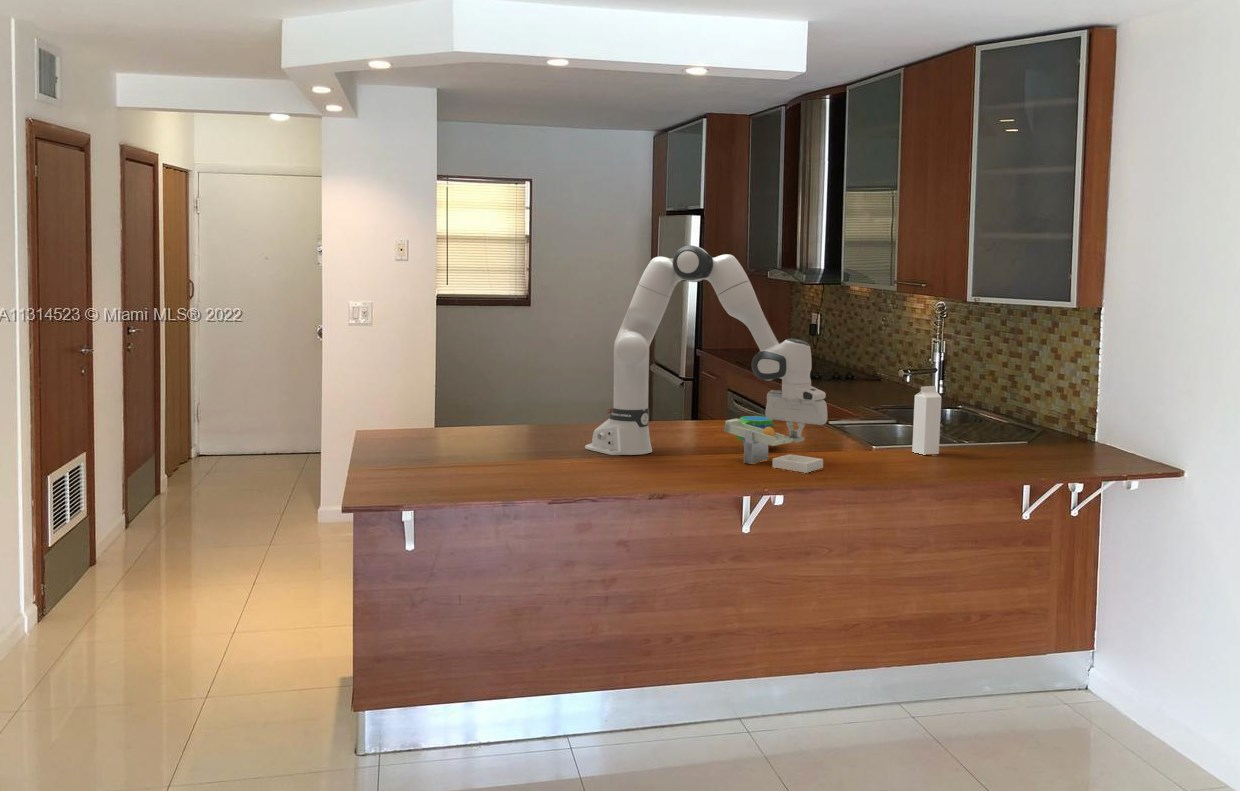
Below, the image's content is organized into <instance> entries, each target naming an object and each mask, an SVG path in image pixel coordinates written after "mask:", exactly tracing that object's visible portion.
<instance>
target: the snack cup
mask: <svg viewBox="0 0 1240 791" xmlns="http://www.w3.org/2000/svg"><path fill="white" fill-rule="evenodd" d="M739 419H740V420H742V421H741V423H744V424H747V425H751V426H754V427H758V428H762V429H765V428H766V427H772V428H773V429H774V430H775V427H774V420H772V419H767V417H766V416H760V415H746V416H741V417H739ZM736 439H737V440H738V441H741V442H742V443H743V445H744V442H745V438H744V437H741V436H738V435H736Z"/></svg>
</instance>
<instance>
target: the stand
mask: <svg viewBox="0 0 1240 791" xmlns="http://www.w3.org/2000/svg"><path fill="white" fill-rule="evenodd" d="M767 459H768V460H769V445H768V444H765V443H761V442H758V441H755V440H754V433H752V432H745V442H744V444H743V464H744V463H750V464H753V463H756V462H760V461H763V460H767Z"/></svg>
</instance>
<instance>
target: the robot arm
mask: <svg viewBox="0 0 1240 791" xmlns="http://www.w3.org/2000/svg"><path fill="white" fill-rule="evenodd" d="M704 280H705V281H708V282H709V283H710V284H711V286H712V288H713V290H714V292H715V294H716V296H717V298H718V301H719V303H720V304H721V306H722V308H723V309H724V310H725V312H726V313H727V315H729V316H730V317H733V318H734V319H737V320H738V321H740V322H742V324H744V325H745V326H746V327H747V328H748V331H750V333H751V336H752V338H753V339H754V341H755V343H756V345H757V347H758V349H759V352H757V353H755V355H754V356H753V358H752V360H751V366H750V367H751V371H752V372H753V374H754V375H755V377H757V379H759V380H763V381H772V380H775V379H781V390H779V389H778V390H777V389H771V390H769V391H768V392H767V394H766V406H765V412H764V413H765V416H764V417H767V419H772V420H773V421H783V422H786V424H785V425H786V427H787V429H788V431H789V432H788V433H789V434H788V436H789V435H790V436H795V437H802V431H803V429H804V427H805V426H806V424H807V425H808V424H809V425H818V426H823V425H825V424H826V423H827V422H828V405H827V402H826V401H825V400H824V399H826V395H827V394H826V392H825V391H823V390H821V389H818V388H816V387H815V386H812V379H811V371H812V363H813V362H812V352H811V351H812V350H811V346H810V344H809V343H808V342H807V341H805V340H802V339H797V338H787V339H785V340H784V341H782V342H780V341H779V340H778V339H777V337H776V334H775V333H774V331H773V328H772V326H771V324H770V323H769V321H768V319H767V317H766V315H765V314H764V311H763V310H762V308H761V304H760V302H759V299H758V297H757V295H756V292H755V290H754V288H753V285H752V283H751V281H750V279H749V277H748V275H747V273H746V271H745V270H744V268H743V266H742V265H741V263H740V262H739V260H738V259H737V257H735V256H734V255H732V254H730V253H729V254H727V253H726V254H721V255H717V256H715V257H712V255H710V254H709V252H707V251H706V250H705V249H704V248H702V247H700V246H697V245H685V246H682V247H680V248H679V249H678V250H677V251H676V252H675V253H674V255H673V258H669V257H666V256H656V257H653V258H652V259H651V260H650V261H649V263H648V265H647V266H646V267H645V269H644V271H643V273H642V276H641V277H640V279H639V282H638V284H637V286H636V289H635V290H634V291H635V292H634V293H633V296H632V299H631V301H630V304H629V307H628V309H627V311H626V313H625V315H624V318H623V321H622V323H621V325H620V328H619V330H618V333H617V335H616V337H615V339H614V342H613V343H614V345H613V407H612V408H609V409H606V411H607V412H606V414H609V416H608V419H607V420H604V422H603V423H601V424H600V425H599V426H598V427H597V428H595V429H594V431H593V434H592V439H591V440H592V441H591V443H588V444H586V445H585V446H584V449H585V450H589V451H593V452H598V453H601V454H605V455H609V456H621V455H622V456H623V455H624V456H625V455H626V456H628V455H629V456H632V455H633V456H634V455H646V454H649V453H650V454H651V453H652V452H653V449H652V444H651V439H650V429H649V422H650V408H649V374H650V373H649V368H650V362H649V361H650V346H651V343H652V341H653V339H654V336H655V334H656V333H657V331H658V328H659V327H660V326H659V325H660V324H661V322H662V319H663V317H664V314H665V312H666V310H667V307H668V305H669V302H670V299H671V297H672V294H673V292H674V290H675V288H676V286H677V284H678V283H679V282H690V283H698V282H699V283H700V282H703V281H704ZM794 423H796V424H797V426H798V427H797V429H795V428H794V426H793V425H794Z"/></svg>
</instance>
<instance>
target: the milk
mask: <svg viewBox="0 0 1240 791" xmlns="http://www.w3.org/2000/svg"><path fill="white" fill-rule="evenodd" d="M941 413H942V396H941V394H940V393H938V391H937V386H936V385H928V386H927V385H925V386H920V391H919V392H918V393H916V394H914V404H913V427H912V446H911V447H912V448H911V452H914V453H919V454H923V455H926V454H940V439H941V438H940V437H941V436H940V435H941V416H942V414H941ZM914 453H913V454H914Z"/></svg>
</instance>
